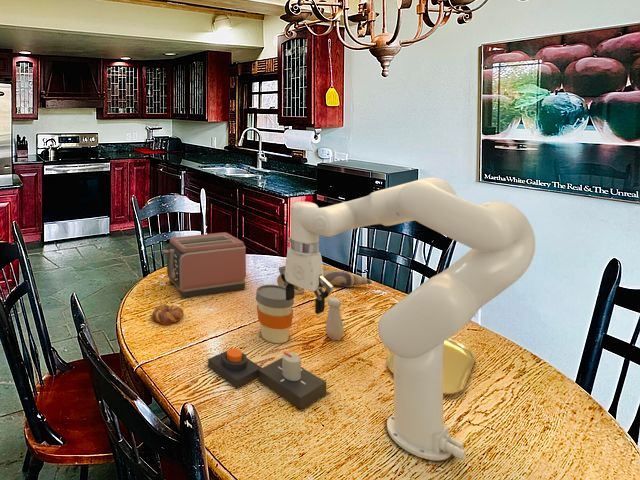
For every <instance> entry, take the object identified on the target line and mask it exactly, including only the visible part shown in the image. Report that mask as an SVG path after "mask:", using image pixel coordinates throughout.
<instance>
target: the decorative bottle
mask: <svg viewBox="0 0 640 480" xmlns="http://www.w3.org/2000/svg"><path fill="white" fill-rule="evenodd" d="M323 273H324V278H325V279H326V280H327V281H328V282H329V283H330V284H331V285H332V286H339V287H344V288H349V289H350V288H352V287H355V286H359V285H364V286H367V285H371V284H372V280H371V279H369V278H366V277H361V276H358V275H353V273H352V272H350V271H346V270H337V269H336V270H335V269H329V268H323Z"/></svg>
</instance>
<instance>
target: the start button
mask: <svg viewBox="0 0 640 480" xmlns="http://www.w3.org/2000/svg"><path fill="white" fill-rule="evenodd" d="M226 351H227V359H228V360H229V361H231V362H240V361H242V353H243V352H242V351H241V350H240V349H238V348H234V347H231V348H228V349H227V350H226Z"/></svg>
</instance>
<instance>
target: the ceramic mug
mask: <svg viewBox="0 0 640 480" xmlns="http://www.w3.org/2000/svg"><path fill="white" fill-rule="evenodd" d="M276 282H277V285H278V286H282V287H285V288H286V286H285V285H284V281H283V280H282V278H281V274H280V273H279V275H278V276H277V278H276ZM294 286H295V285H294ZM296 288H299V287H298V286H295V294H298V295H302V294H303V293H304V291H305V289H303V288H300V290H298V289H296Z"/></svg>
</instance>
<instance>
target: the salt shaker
mask: <svg viewBox="0 0 640 480" xmlns="http://www.w3.org/2000/svg"><path fill="white" fill-rule="evenodd" d="M326 301H327V306H328V307H329V308H328V312H327V317H326V321H325V322H326V323H325V326H324V327H325V332H326V334H327V337H328V338H329V339H331V340H333V341H340V340H341V339H343V336H344V334H345V328H344V324H343V319H342V314H341V309H340V308H341V306H342V301H341V299H340V298H339V297H335V296H328V297H327V300H326Z"/></svg>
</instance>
